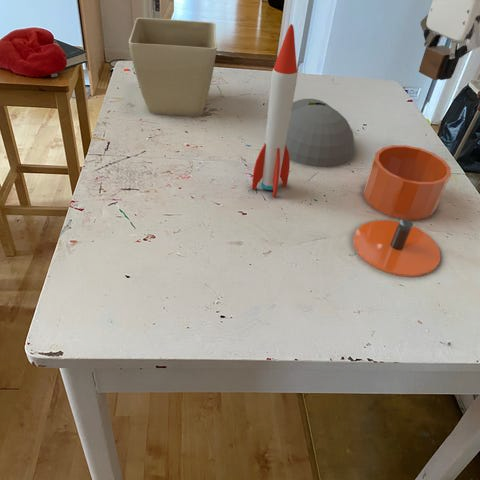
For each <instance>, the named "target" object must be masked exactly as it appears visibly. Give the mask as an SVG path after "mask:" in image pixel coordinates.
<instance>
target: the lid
mask: <svg viewBox="0 0 480 480" xmlns="http://www.w3.org/2000/svg"><path fill="white" fill-rule="evenodd" d="M352 242H353V246H354V249H355V251H356V253H357V254H358V256H359V257H361V259H362V260H363V261H365V262H366V263H367V264H369V265H370V266H371V267H373V268H374V269H377V270H379V271H381V272H383V273H387V274H390V275H394V276H399V277H404V278H405V277H406V278H407V277H409V278H410V277H411V278H412V277H420V276H421V277H422V276H424V275H428V274H430V273H432V272H433V271H434V270H435V269H436V268H437V267H438V265H439V264H440V261H441V251H440V248H439V247H438V244H437V243H436V242H435V241H434V239H433V238H431V237H430V236H429V235H428V234H427V233H425V232H424V231H422V230H421V229H419V228H418V227H416V226H414V223H413V221H412V220H407V219H399V221H397V220H390V219H389V220H388V219H387V220H386V219H380V220H373V221H368V222H367V223H364V224H362V225H360V226H359V227H358V228H357V230H355V232H354V235H353V241H352Z"/></svg>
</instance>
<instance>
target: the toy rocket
mask: <svg viewBox="0 0 480 480" xmlns="http://www.w3.org/2000/svg"><path fill="white" fill-rule="evenodd" d="M295 41H296V39H295V28H294V25H293V23H291V24H289V26H288V28H287V31H286V33H285V36H284V39H283V41H282V44H281V46H280V50H279V53H278V55H277V58H276V61H275V63H274V66H273V68H272V72H271V79H270V89H269V99H268V109H267V118H266V129H265V138H264V144H263V146H262V147H261V149H260V151H259V153H258V156H257V158H256V160H255V164H254V167H253V173H252V183H251V190H252V191H255V190H256V189H257V186H258V185H259V183H260V186H261V188H262V189H264V190H267V191H272V197H273V198H274V199H276V198H277V193H278V188H279V185H280V180H281V184H282V187H283V188H287V187H288V180H289V174H290V165H291V164H290V162H291V160H290V159H289V153H288V149H287V147H286V139H287V133H288V127H289V122H290V116H291V110H292V105H293V102H294V99H295V94H296V93H295V92H296V87H297V81H298V65H297V54H296V42H295Z"/></svg>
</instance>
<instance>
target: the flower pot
mask: <svg viewBox="0 0 480 480" xmlns="http://www.w3.org/2000/svg"><path fill="white" fill-rule="evenodd" d="M216 34H217V33H216V23H215V22H212V21H197V20H196V21H195V20H183V19H170V18H169V19H167V18H153V17H152V18H151V17H136V18H135V21H134V24H133V27H132V30H131V33H130V36H129V39H128V47H129V52H130V57H131V61H132V65H133V69H134V74H135V77H136V79H137V83H138V86H139V90H140V93H141V95H142V99H143V100H144V103H145V106H146V108H147V111H148V113H149V114H153V115H171V116H172V115H173V116H190V117H201V116H202V115H203V112H204V109H205V106H206V102H207V99H208V96H209V92H210V88H211V84H212V78H213V75H214V69H215V64H216V63H215V62H216V58H217V57H216V56H217V48H218V45H217V36H216Z"/></svg>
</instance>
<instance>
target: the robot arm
mask: <svg viewBox="0 0 480 480" xmlns="http://www.w3.org/2000/svg"><path fill="white" fill-rule="evenodd" d="M428 11H429V12H428V14H426V16H424V17H423V19H422V20H421V21H420V27H421V30H422V32H423V37H424V43H423V47H424V48H425V50H424V53H423V56H422V59H421V62H420V66H421V63H422V60H423V57H424V54H425V51H426V48H427V47H434V46H439V44H440V42H441V40H442V38H443V37H444V38H446V39H449V40H450V47H449V48H450V53H449V57H447V58H446V59H445V61H444V63H443V66H442V69H441V72H440V75H439V80H440V81H444V80H450V79H452V77H453V75H454V73H455V71H456V68H457V65H458V63H459V60H460V59H462V58H463V57H464V56H465V55H467V54H468V53H470V52H472V51H474V50H476V49H479V48H480V0H432V2H431V5H430V8H429V10H428ZM467 40H469V42H468V43H467ZM420 66H419V67H420Z"/></svg>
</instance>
